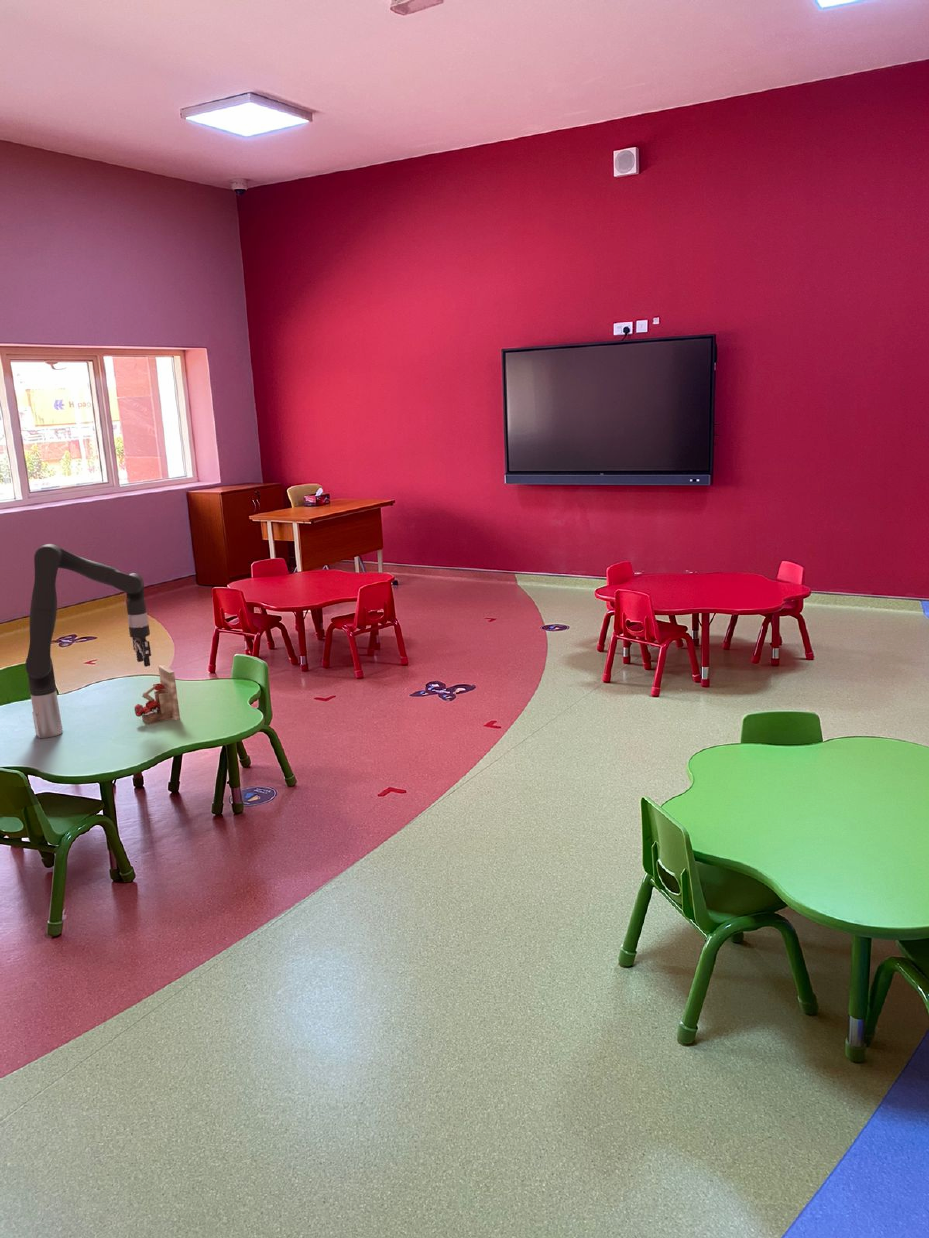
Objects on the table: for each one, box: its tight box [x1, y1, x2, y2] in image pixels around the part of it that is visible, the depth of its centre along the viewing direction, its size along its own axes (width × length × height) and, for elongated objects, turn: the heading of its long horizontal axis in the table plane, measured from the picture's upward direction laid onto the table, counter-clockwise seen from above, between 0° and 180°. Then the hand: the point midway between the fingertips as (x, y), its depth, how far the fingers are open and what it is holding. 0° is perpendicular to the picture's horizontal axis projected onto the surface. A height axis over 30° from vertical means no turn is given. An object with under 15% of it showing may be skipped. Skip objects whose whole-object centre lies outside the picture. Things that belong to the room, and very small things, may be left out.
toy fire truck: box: [134, 683, 165, 718], centre depth 368 cm, size 3×14×10 cm, turn 138°
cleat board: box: [141, 664, 181, 725], centre depth 370 cm, size 12×13×20 cm
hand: (143, 663), depth 364 cm, fingers open, 8 cm apart
